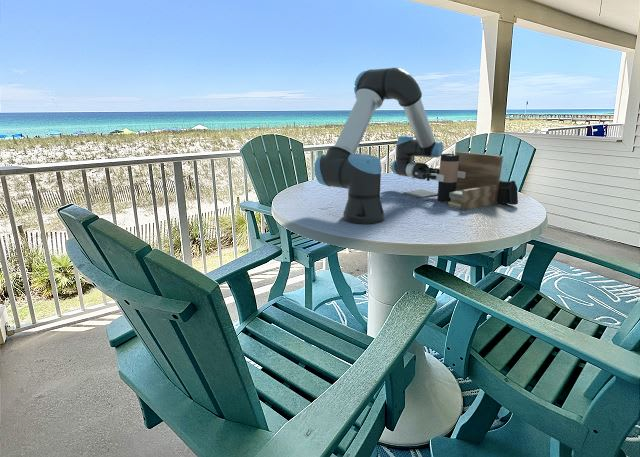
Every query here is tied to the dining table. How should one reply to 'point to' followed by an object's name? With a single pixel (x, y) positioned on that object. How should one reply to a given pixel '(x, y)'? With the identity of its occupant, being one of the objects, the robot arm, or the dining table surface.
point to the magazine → (507, 193)
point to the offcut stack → (456, 198)
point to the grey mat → (420, 193)
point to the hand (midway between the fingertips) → (454, 176)
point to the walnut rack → (478, 179)
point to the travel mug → (448, 176)
